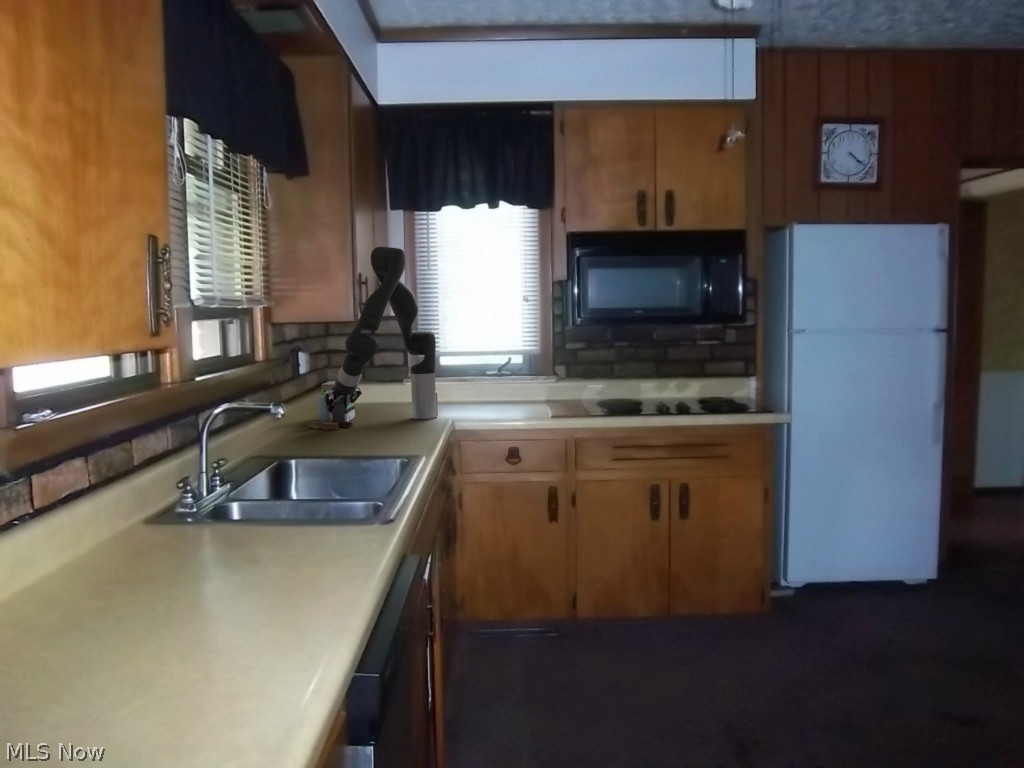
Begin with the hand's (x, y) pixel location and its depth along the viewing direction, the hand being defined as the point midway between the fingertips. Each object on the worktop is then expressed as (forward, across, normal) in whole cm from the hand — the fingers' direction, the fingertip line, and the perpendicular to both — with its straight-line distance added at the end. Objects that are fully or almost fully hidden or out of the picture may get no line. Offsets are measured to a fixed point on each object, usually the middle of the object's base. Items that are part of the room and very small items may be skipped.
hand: (336, 409), depth 290 cm
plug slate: (+8, +2, +1) cm, 8 cm away
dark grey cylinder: (+1, 0, +4) cm, 5 cm away
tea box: (+17, -8, -8) cm, 21 cm away
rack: (+6, +1, +4) cm, 7 cm away
